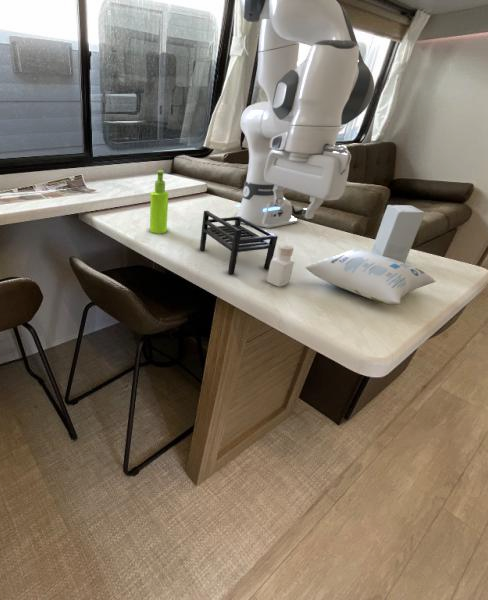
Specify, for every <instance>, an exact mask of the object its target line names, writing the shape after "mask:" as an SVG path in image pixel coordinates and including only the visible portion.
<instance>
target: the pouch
mask: <svg viewBox="0 0 488 600" xmlns="http://www.w3.org/2000/svg"><path fill="white" fill-rule="evenodd" d="M304 268H305V269H306V270H307V271H308V272H309V273H311V274H312V275H313V276H315V277H317V278H318V279H320V280H323V281H325V282H327V283H329V284H331V285H334V286H336V287H338V288H341V289H342V290H346V291H348V292H350V293H352V294H353V293H354V294H356V295H359V296H361V297H364V298H367V299H369V300H372V301H375V302H376V301H377V302H379V303H383V304H386V305H387V304H388V305H397V304H401V298H403V297H404V296H405V295H406V294H409V293H412V292H413V291H415V290H417V289H420V288H423V287H425V286H428V285H431V284H433V283H436V282H437V280H435V278H433V277H432V276H431V275H430V274H428V273H426V272H425V271H423V270H421V269H420V268H417V267H415V266H413V265H410V264H407V263H406V262H405V263H402V262H400V261H397V260H394V259H390V258H387V257H384V256H380V255H377V254H373V253H371V252H369V251H363V250H356V249H350V250H346V251H343V252H341V253H339V254H336V255H333V256H329V257H327V258H324V259H321V260H319V261H315V262H314V263H311V264H309V265H307V266H304Z"/></svg>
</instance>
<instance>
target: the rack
mask: <svg viewBox="0 0 488 600" xmlns="http://www.w3.org/2000/svg"><path fill="white" fill-rule="evenodd" d="M233 221H234V224H231V223H230V222H233ZM241 222H242V223H241ZM201 223H202V225H201V232H200V233H201V234H200V243H199V251H200V252H205V251H206V245H207V244H206V243H207V236H209V237H210V238H212V239H213V240H215V241H216V242H217V243H218V244H221V246H223V247H225V248H226V249H227V250H229V251H230V256H229V262H228V269H227V274H228V275H229V276H233V275H235V270H236V265H237V260H238V254H239V253H245V252H252V251H253V252H254V251H261V250H267V251H266V256H265V260H264V263H263V269H264V270H265V271H269V267H270V263H271V260H272V259H273V258H274V253H275V250H276V246H277V242H278V239H279V238H278V237H279V236H278V235H276V234H274V233H272V232H270V231H268V230H266V229H264V228H263V227H261V226H256V225H254V224H253V223H251V222H249V221H247V220H245V219H243V218H241V217H240V216H238V217H236V216H231V217H230V216H229V217H219V216H217V215H216V214H213V212H210V211H209V210H203V215H202V222H201ZM214 223H219V224H221V225H215V224H214ZM243 223H244V224H243ZM241 224H243V225H247V226H248V227H250V228H252V229H254V230H256V231H258V232H260V233H261V234H263V235H262V236H260V235H258V234H257V233H256V232H253V231H252V230H250V229H248V228H246V227H244V226H242V225H241Z"/></svg>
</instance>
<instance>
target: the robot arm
mask: <svg viewBox="0 0 488 600" xmlns="http://www.w3.org/2000/svg"><path fill="white" fill-rule="evenodd" d="M239 6H240V11H241V13H242V15H243V19H244V20H245V21H246V22H248V23H259V21H261V22H260V30H259V36H258V47H257V77H256V79H257V83H258V85H259V87H260V88H261V89H262V90H263V91H264V93H265V95H266V98H267V101H265V100H264V101H259V102H254V103H252V104H250V105H248V106H247V107H246V108H245V109H244V110H243V112H242V114H241V116H240V121H239V126H240V130H241V132H242V133H243V134H244V137H245V138H246V142H247V147H248V166H247V172H246V179H245V180H244V183H243V187H242V188H243V189H242V198H241V203H240V204H235V207H236V208H238V207H239V208H238V211H237V213H236V215H235V217H238V216H240V217H241V218H243V219H245V220H247V221H249V222H251V223H253V224H254V225H256V226H258V227H260V228H267V229H271V228H276V227H281V226H285V225H291V224H295V223H297V222H298V219H297V218H296V217H295V216H293V214H299V213H301V217H302V218H304V219H308V220H310V219H311V220H312V219H313V218H314V217H315V214H316V210H318V209H319V207H320V206H322V204H323V203H324V201H337V200H339V199H340V198H341V197H342V196H343V195H344V193H345V190H346V186H347V181H348V177H349V172H350V163H351V160H352V154H351V152H350V151H349V149H348V147H347V146H345V145H336V143H337V139H338V136H339V133H340V130H341V126H342V125H346V124H347V125H348V124H349V123H350V122H352V121H354V120H355V119H357V117H359V116H360V115H361V114H362V113H364V111H365V110H366V109H367V108H368V106H369V105H370V103H371V102H372V100H373V96H374V94H375V93H374V92H375V80H374V76H373V73H372V72H371V70H370V68H369V67H368V65H367V64H366V63H365V60H364V59H363V56H362V53H361V50H360V45H359V44H358V41H357V37H356V35H355V31H354V28H353V25H352V22H351V19H350V17H349V14H348V12H347V11H346V9H345V7H344V6H342V4H340V3H339V2H338V1H337V0H239ZM300 44H303V45H307V46H310V48H309V50H308V53H307V56H306V58H305V59H304V60H303V61H302V62H301V63H300V64H299V51H300ZM287 190H290V191H293V192H296V193H299V194H303V195H306V196H308V197H310V198H309V202H310V203H309V205H308V206H307V207H306V208H305V207H304V208H301V209H299V210H296V209H295V206H294V205H293V204H292V203H291V201H289V200H288V199H287V197H285V196H284V191H287ZM240 224H243V225H245V224H244V223H242V222H241V223H240Z"/></svg>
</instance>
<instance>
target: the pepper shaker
mask: <svg viewBox="0 0 488 600" xmlns="http://www.w3.org/2000/svg"><path fill="white" fill-rule="evenodd" d="M293 252H294V246H292V245H290V244H278V247H277V252H276V256H274V257H273V259H272V260H271V263H270V267H269V270H267V271H268V272H267V275H266V282H267V283H270V284H271V285H273V286H276V287H279V288H280V287H282V286H285V285H288V284H289V282H290V279H291V275H292V272H293V267H294V265H295V261H294V260H293V259H291V258H292V256H293Z"/></svg>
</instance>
